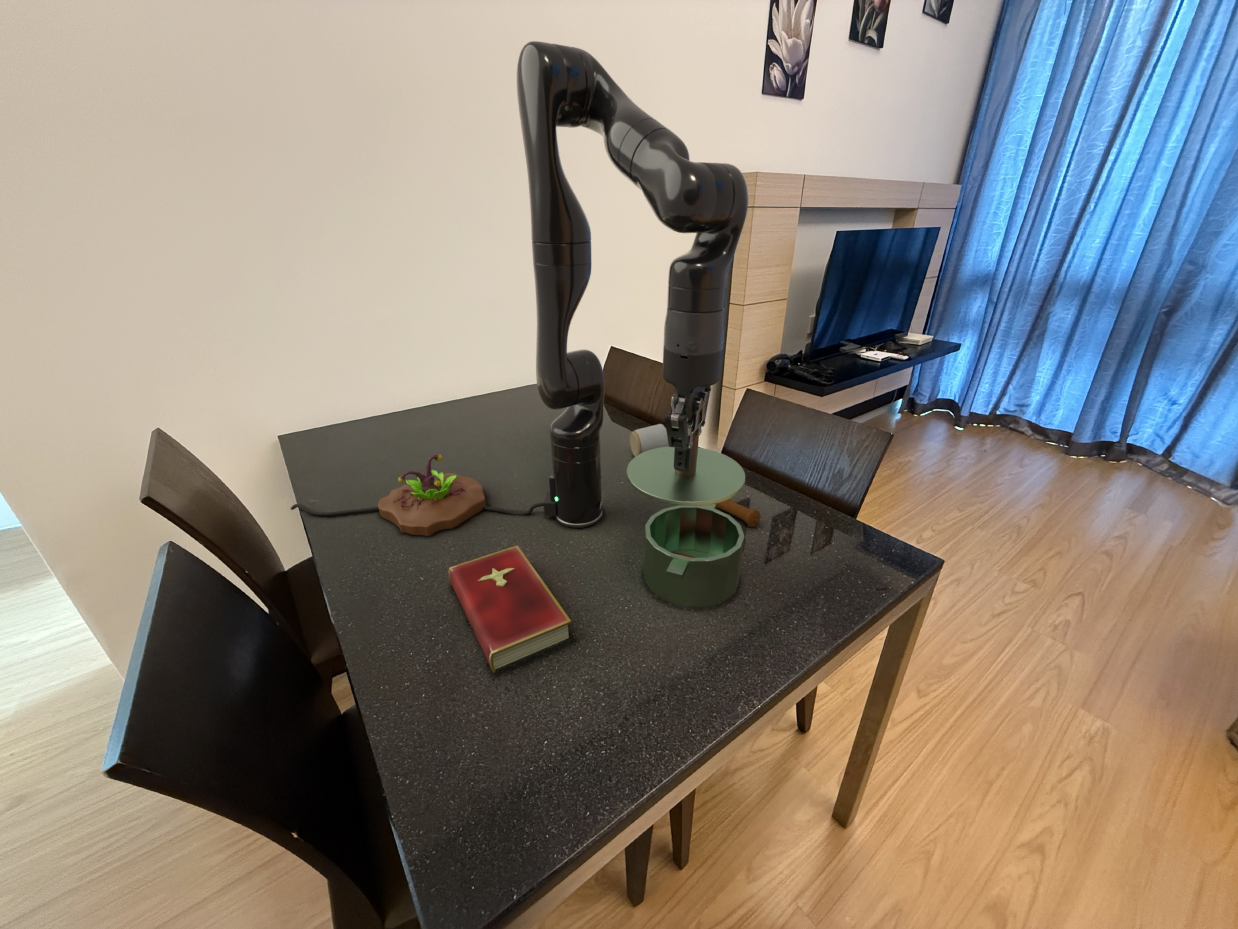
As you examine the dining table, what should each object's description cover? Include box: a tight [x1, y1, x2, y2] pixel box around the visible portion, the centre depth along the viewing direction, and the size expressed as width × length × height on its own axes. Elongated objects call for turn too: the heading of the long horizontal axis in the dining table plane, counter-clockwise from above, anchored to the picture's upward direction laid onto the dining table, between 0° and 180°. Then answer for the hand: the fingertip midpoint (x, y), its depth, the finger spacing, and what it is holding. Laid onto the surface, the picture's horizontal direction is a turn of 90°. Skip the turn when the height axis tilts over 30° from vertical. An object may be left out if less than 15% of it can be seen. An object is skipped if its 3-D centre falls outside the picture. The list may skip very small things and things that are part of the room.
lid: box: [626, 431, 746, 506], centre depth 74 cm, size 17×17×7 cm
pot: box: [643, 504, 745, 608], centre depth 87 cm, size 16×21×10 cm
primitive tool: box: [715, 498, 762, 528], centre depth 108 cm, size 19×6×4 cm, turn 38°
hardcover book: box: [448, 545, 572, 673], centre depth 81 cm, size 12×21×4 cm, turn 31°
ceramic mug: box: [629, 423, 669, 458], centre depth 127 cm, size 11×8×8 cm
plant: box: [377, 453, 487, 537], centre depth 107 cm, size 20×20×11 cm
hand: (685, 463), depth 75 cm, fingers closed on lid, 3 cm apart
